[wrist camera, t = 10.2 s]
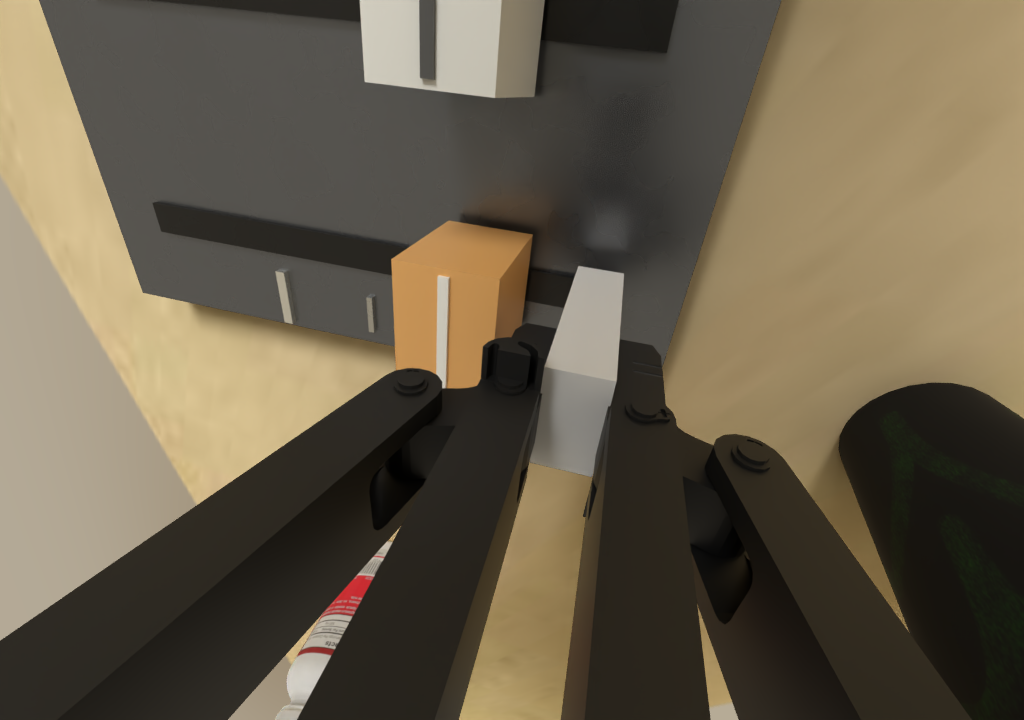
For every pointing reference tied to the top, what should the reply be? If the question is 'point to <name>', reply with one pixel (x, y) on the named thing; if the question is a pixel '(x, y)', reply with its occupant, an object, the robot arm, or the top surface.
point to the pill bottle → (326, 638)
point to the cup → (949, 531)
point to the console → (405, 151)
